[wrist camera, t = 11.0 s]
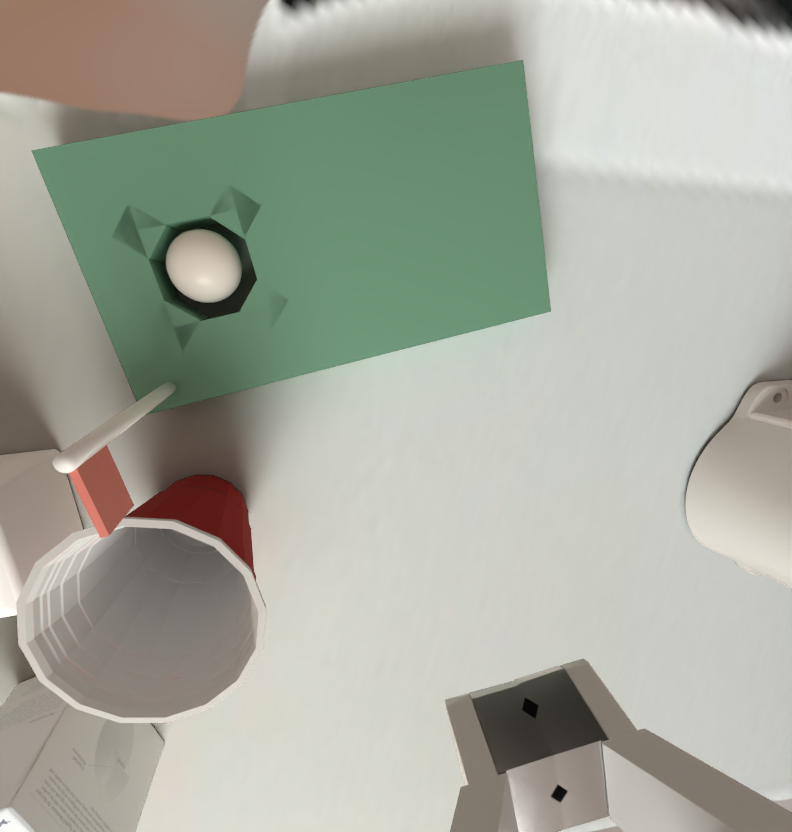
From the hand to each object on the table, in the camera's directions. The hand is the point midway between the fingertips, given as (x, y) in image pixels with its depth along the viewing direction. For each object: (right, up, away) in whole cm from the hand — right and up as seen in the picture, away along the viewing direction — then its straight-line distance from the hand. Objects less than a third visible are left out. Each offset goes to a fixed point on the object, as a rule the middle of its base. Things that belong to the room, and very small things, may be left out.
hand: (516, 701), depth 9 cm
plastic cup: (-16, -1, +23) cm, 28 cm away
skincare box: (-26, -17, +25) cm, 40 cm away
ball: (-13, +14, +17) cm, 26 cm away
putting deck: (-7, +17, +19) cm, 26 cm away
